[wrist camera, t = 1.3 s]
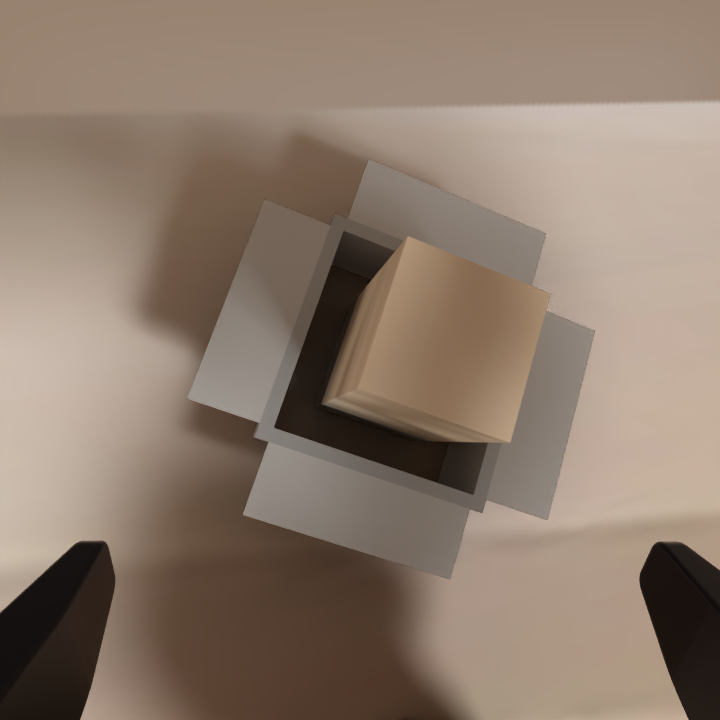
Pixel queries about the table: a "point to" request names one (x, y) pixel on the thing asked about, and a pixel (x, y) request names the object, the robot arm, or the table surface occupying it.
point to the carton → (350, 472)
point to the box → (436, 349)
